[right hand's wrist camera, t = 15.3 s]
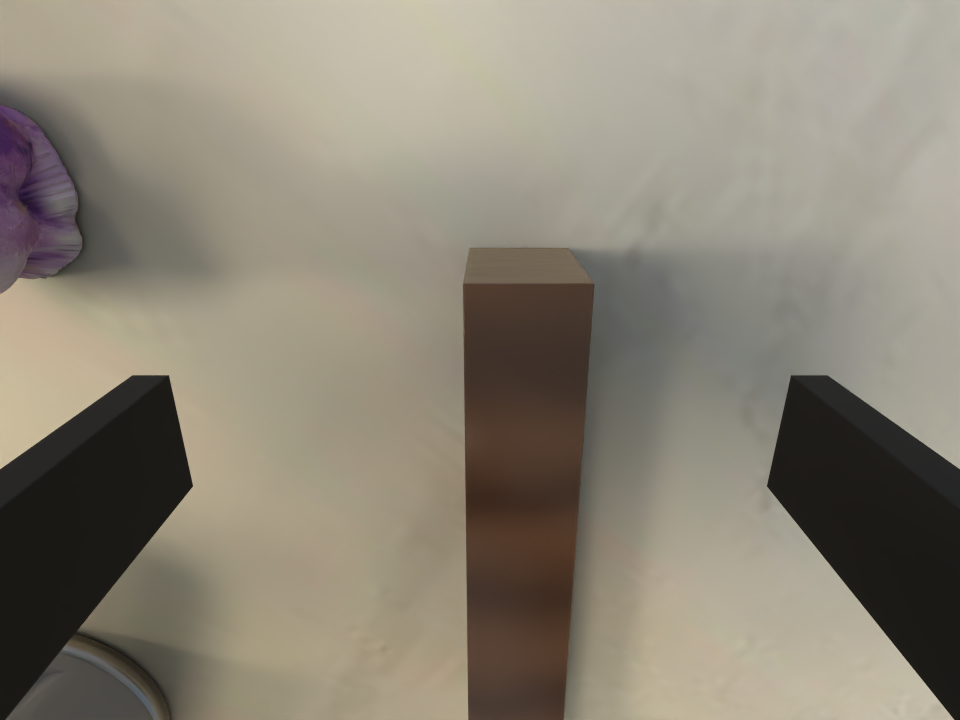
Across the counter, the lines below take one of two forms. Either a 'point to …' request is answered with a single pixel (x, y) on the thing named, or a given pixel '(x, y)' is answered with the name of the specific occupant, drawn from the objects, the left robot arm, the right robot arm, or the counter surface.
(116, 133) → the counter surface
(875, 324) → the counter surface
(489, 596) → the plank
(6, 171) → the figurine
